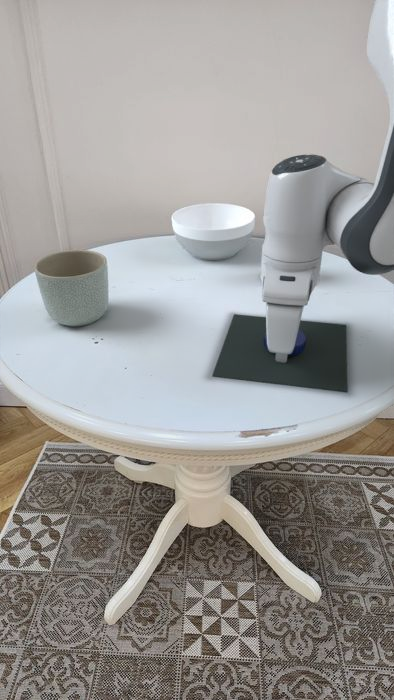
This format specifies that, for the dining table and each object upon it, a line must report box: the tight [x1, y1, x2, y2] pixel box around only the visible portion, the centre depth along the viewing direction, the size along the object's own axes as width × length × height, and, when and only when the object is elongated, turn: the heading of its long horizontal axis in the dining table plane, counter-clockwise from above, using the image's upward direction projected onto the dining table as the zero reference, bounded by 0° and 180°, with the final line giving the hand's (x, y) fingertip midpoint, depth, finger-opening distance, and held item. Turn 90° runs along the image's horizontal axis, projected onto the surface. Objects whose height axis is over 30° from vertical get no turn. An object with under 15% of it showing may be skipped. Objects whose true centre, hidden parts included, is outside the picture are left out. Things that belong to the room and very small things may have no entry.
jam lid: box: [264, 330, 306, 356], centre depth 87 cm, size 7×7×2 cm
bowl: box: [171, 202, 256, 261], centre depth 122 cm, size 19×19×9 cm
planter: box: [34, 249, 110, 328], centre depth 96 cm, size 12×12×11 cm
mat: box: [212, 313, 348, 393], centre depth 88 cm, size 20×20×1 cm
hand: (283, 347), depth 87 cm, fingers closed on jam lid, 6 cm apart
